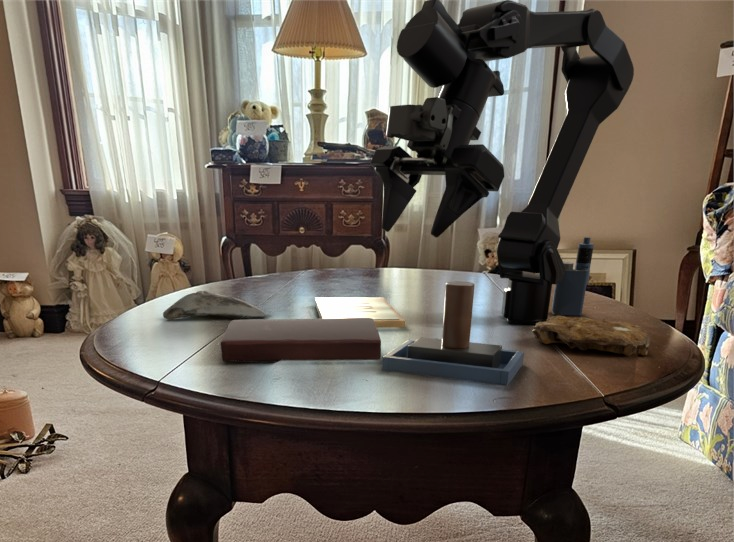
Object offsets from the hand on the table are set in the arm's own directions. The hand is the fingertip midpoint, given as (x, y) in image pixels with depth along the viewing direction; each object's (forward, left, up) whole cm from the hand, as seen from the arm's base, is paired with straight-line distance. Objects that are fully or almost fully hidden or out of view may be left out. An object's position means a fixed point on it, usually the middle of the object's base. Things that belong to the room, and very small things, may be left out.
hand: (408, 233), depth 83 cm
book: (+13, +6, -14) cm, 20 cm away
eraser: (-6, +13, -14) cm, 20 cm away
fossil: (+29, -16, -14) cm, 37 cm away
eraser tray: (-6, +13, -14) cm, 20 cm away
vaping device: (-28, -23, -14) cm, 39 cm away
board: (+7, -17, -14) cm, 24 cm away
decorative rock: (-25, +1, -14) cm, 29 cm away
